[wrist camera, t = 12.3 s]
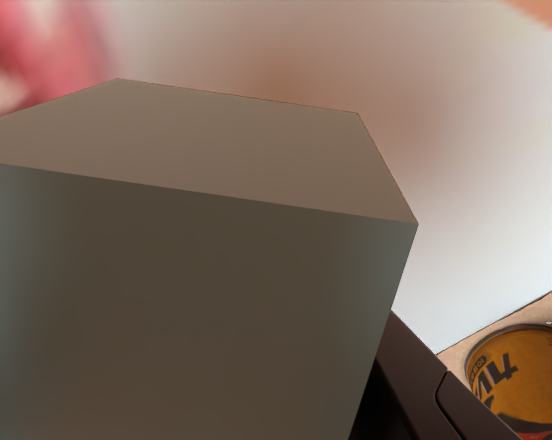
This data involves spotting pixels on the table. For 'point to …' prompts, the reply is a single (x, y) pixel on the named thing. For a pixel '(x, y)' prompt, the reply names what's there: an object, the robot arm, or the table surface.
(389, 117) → the table surface
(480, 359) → the condiment
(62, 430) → the block
